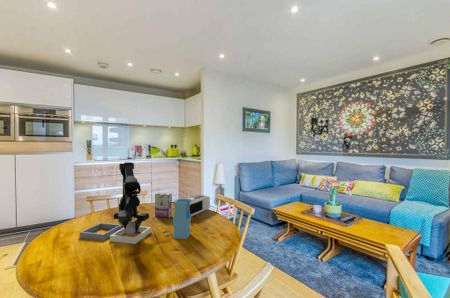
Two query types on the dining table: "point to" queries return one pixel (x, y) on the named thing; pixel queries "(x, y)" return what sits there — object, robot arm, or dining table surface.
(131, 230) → the grey rounded lumpy piece
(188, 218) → the vase
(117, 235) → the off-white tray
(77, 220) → the dining table surface
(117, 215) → the robot arm
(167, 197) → the candy bar box
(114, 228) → the grey square frame
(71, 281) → the dining table surface
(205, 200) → the alarm clock
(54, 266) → the dining table surface
